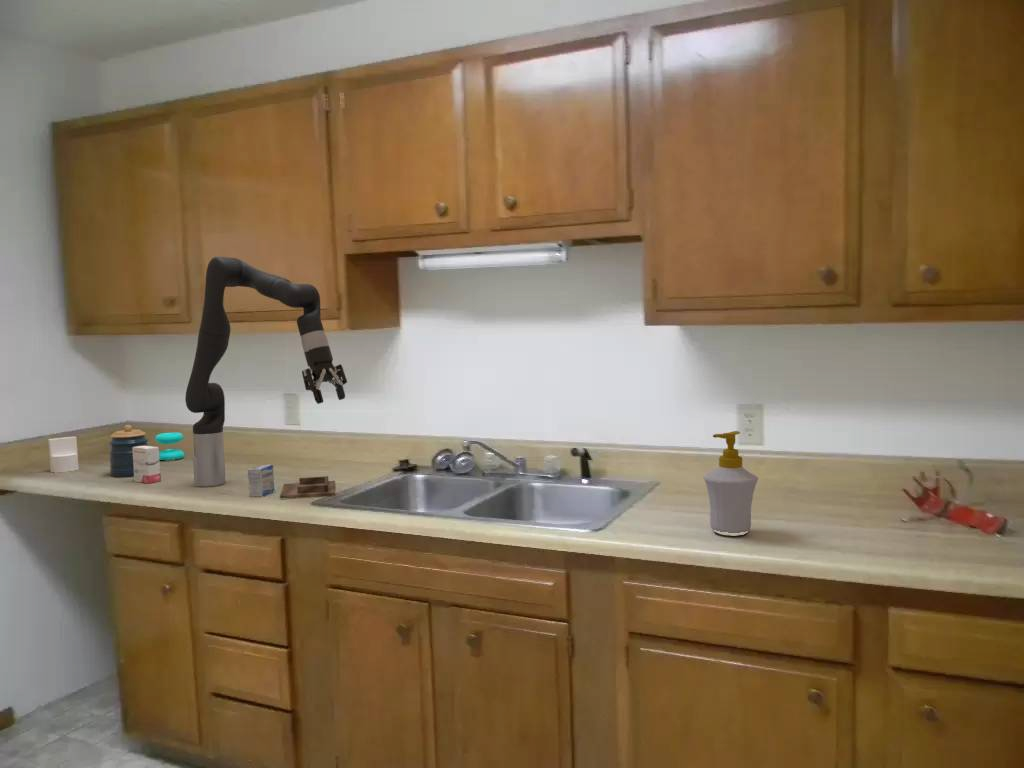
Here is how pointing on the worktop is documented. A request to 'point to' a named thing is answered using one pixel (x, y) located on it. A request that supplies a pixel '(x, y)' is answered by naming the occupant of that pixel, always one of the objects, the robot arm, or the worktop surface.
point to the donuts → (170, 439)
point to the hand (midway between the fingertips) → (331, 401)
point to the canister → (125, 450)
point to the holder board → (309, 488)
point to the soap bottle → (730, 490)
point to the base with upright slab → (63, 454)
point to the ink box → (146, 464)
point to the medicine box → (261, 480)
